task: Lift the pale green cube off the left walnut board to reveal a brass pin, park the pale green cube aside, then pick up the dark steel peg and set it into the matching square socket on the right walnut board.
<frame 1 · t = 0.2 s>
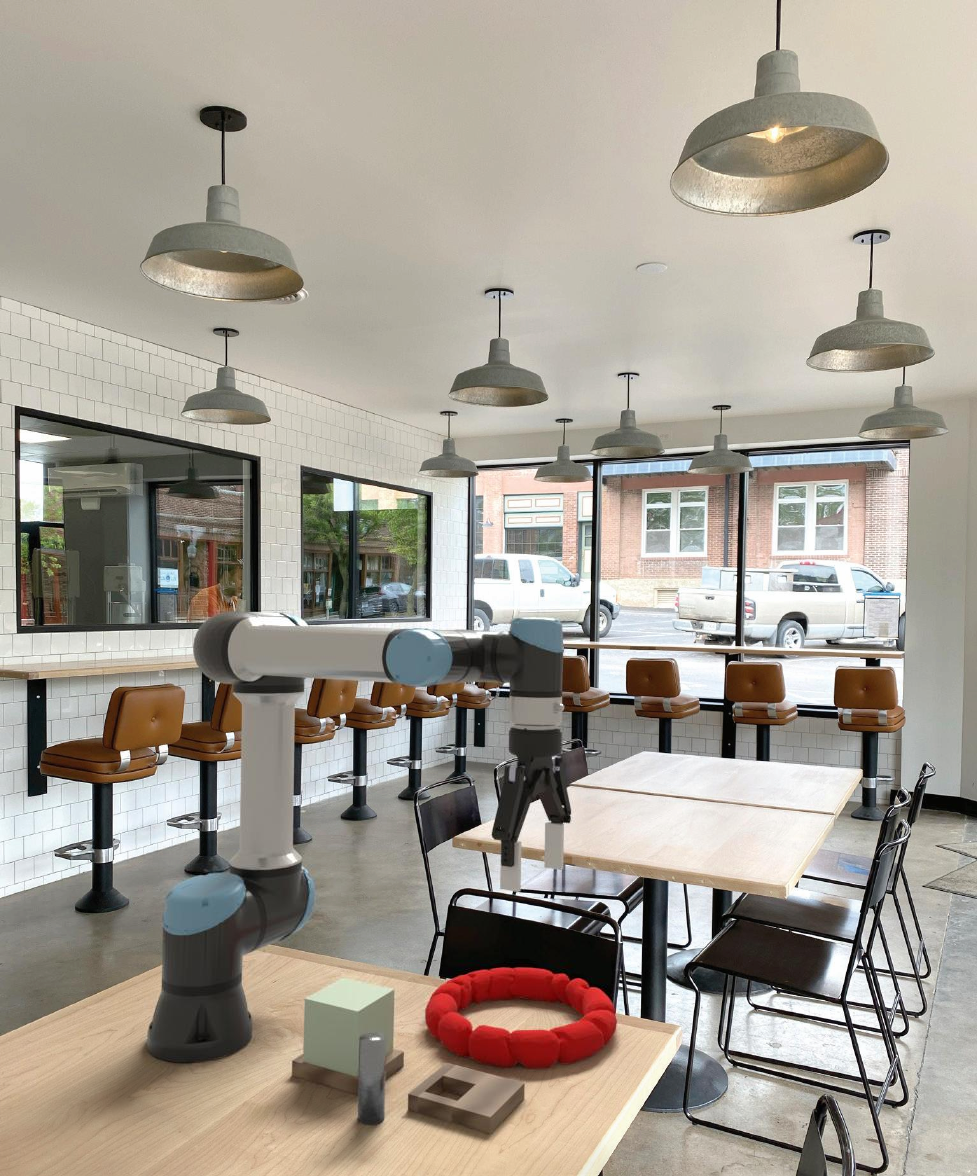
hand: (533, 878, 130), 28 cm above the table, fingers open, 13 cm apart
peg: (371, 1117, 118), on the table
pale green cube: (348, 1056, 130), point 2 cm above the table, touching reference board
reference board: (348, 1070, 130), on the table
square hole block: (466, 1103, 122), on the table
decorative ring: (520, 1030, 146), on the table
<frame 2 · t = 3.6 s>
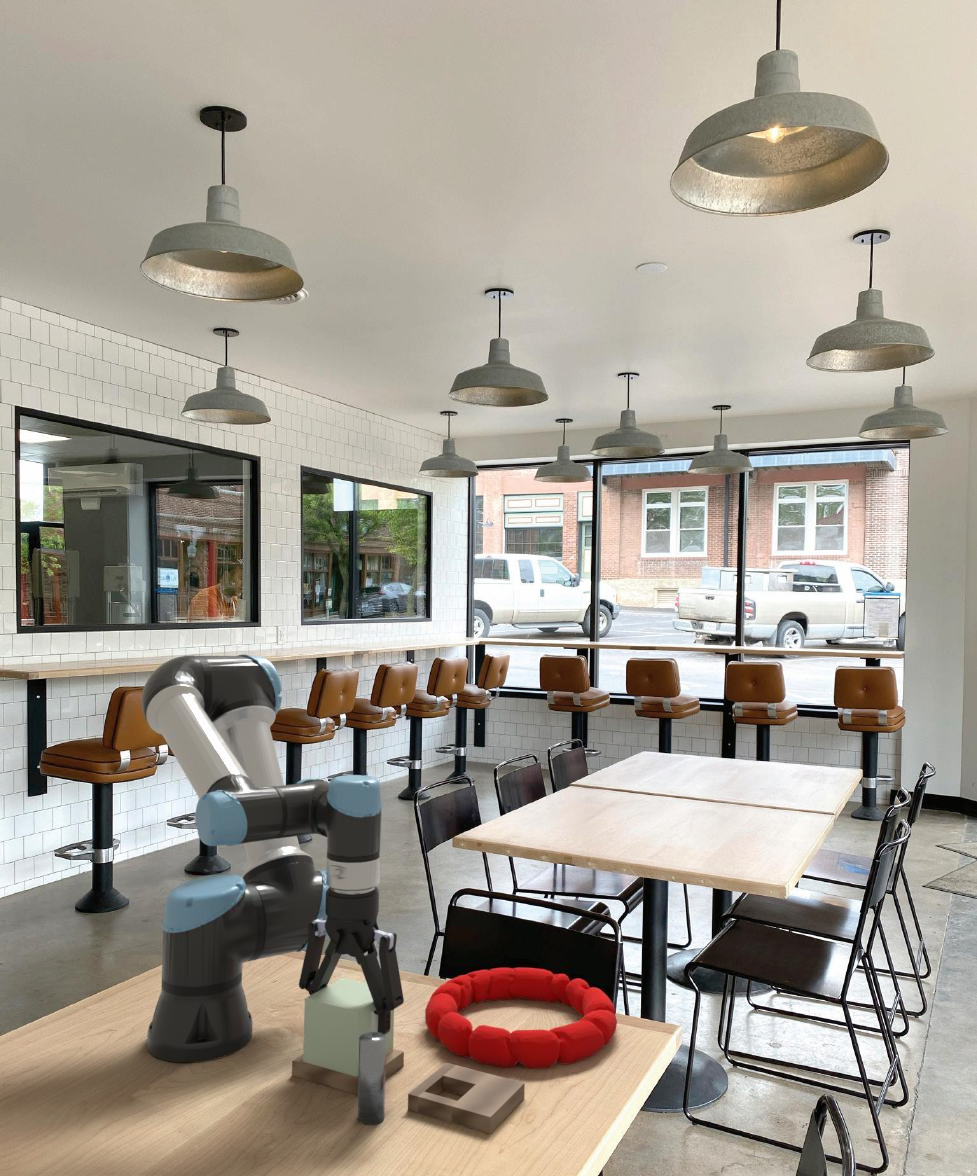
hand: (348, 1048, 130), 3 cm above the table, fingers closed on pale green cube, 9 cm apart
pale green cube: (348, 1055, 130), point 2 cm above the table, touching gripper, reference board
everything else where it was.
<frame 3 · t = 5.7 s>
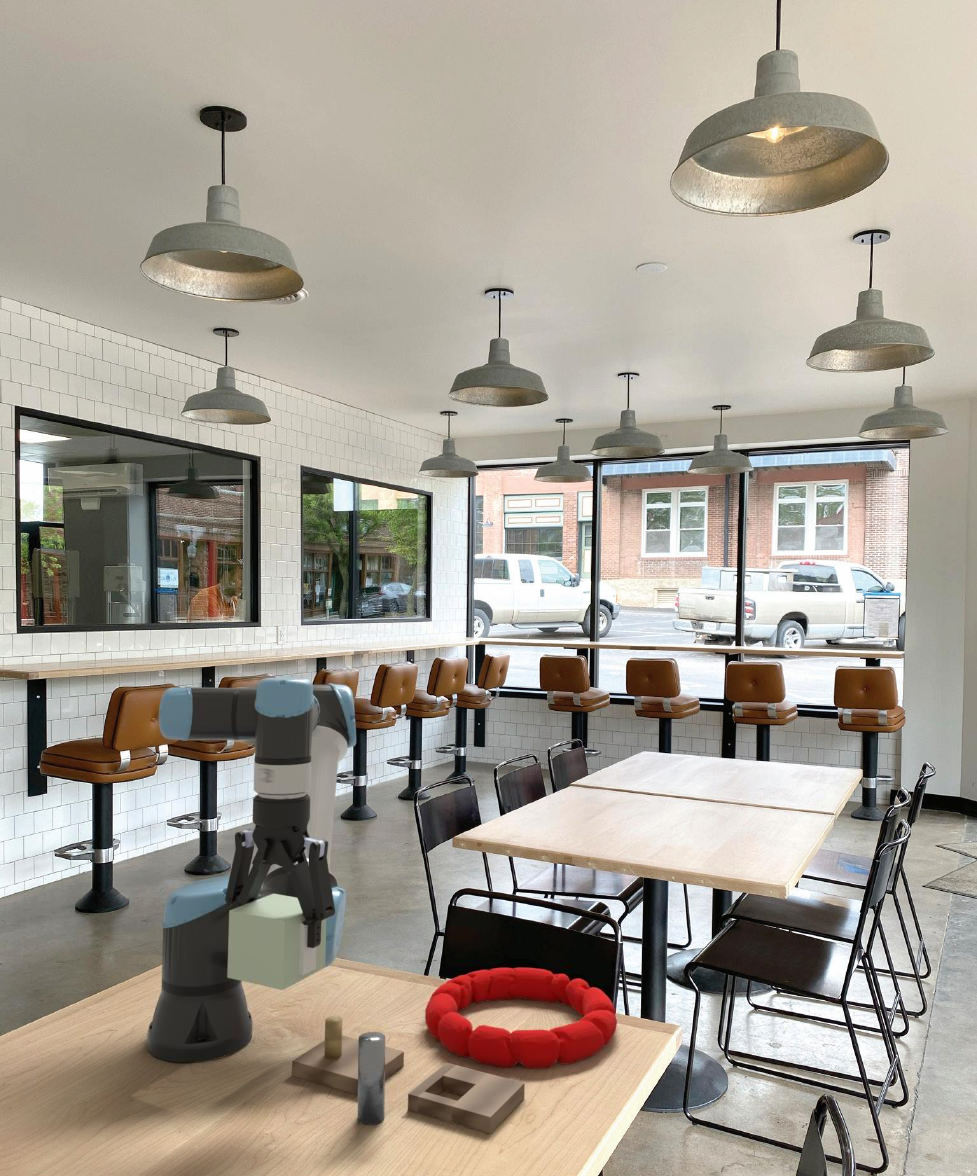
hand: (277, 964, 123), 17 cm above the table, fingers closed on pale green cube, 9 cm apart
pale green cube: (277, 972, 123), point 16 cm above the table, touching gripper
everything else where it was.
when the fingers open (2 cm above the table, at t = 8.0 s): pale green cube stays where it is, on the table.
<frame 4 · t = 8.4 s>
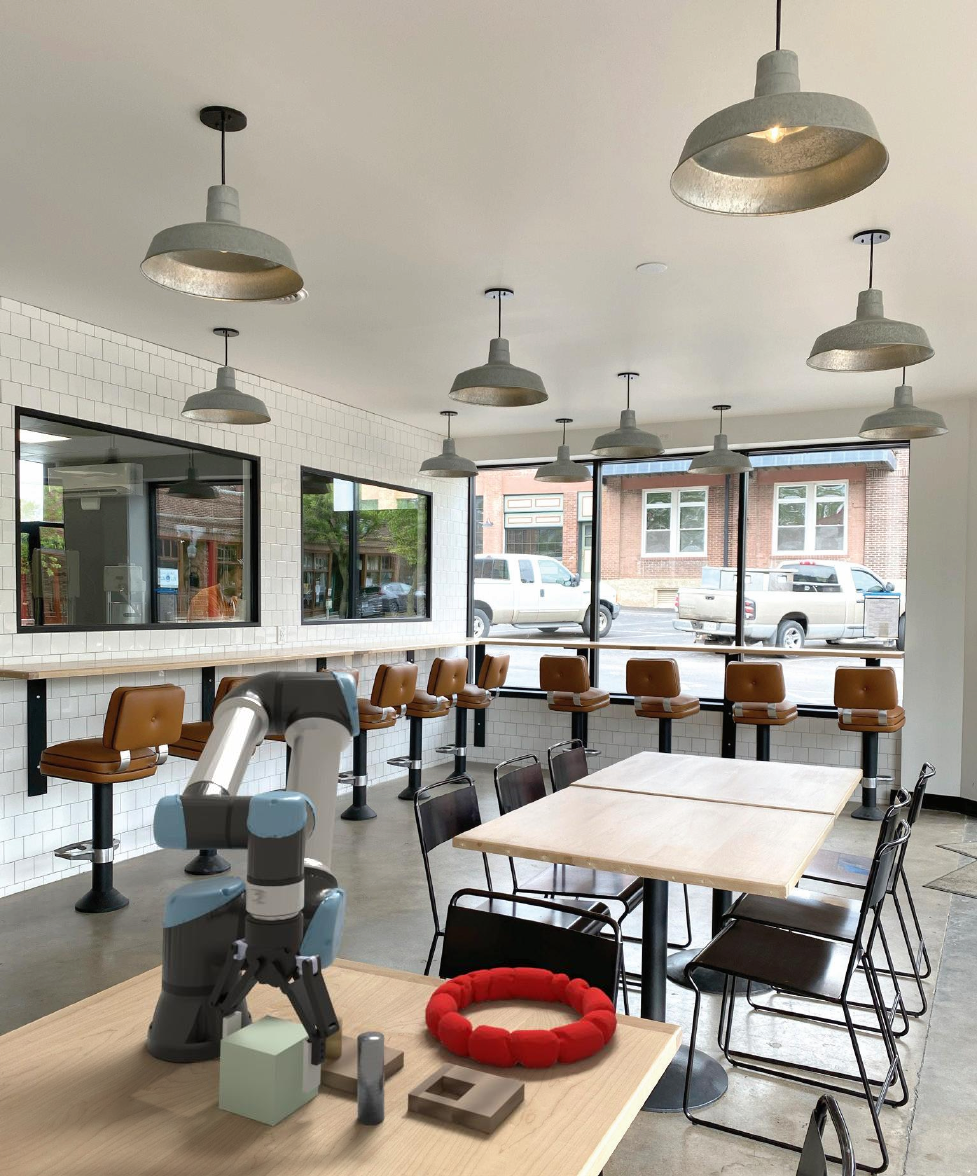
hand: (270, 1076, 122), 3 cm above the table, fingers open, 13 cm apart
pale green cube: (269, 1101, 121), on the table
everything else where it was.
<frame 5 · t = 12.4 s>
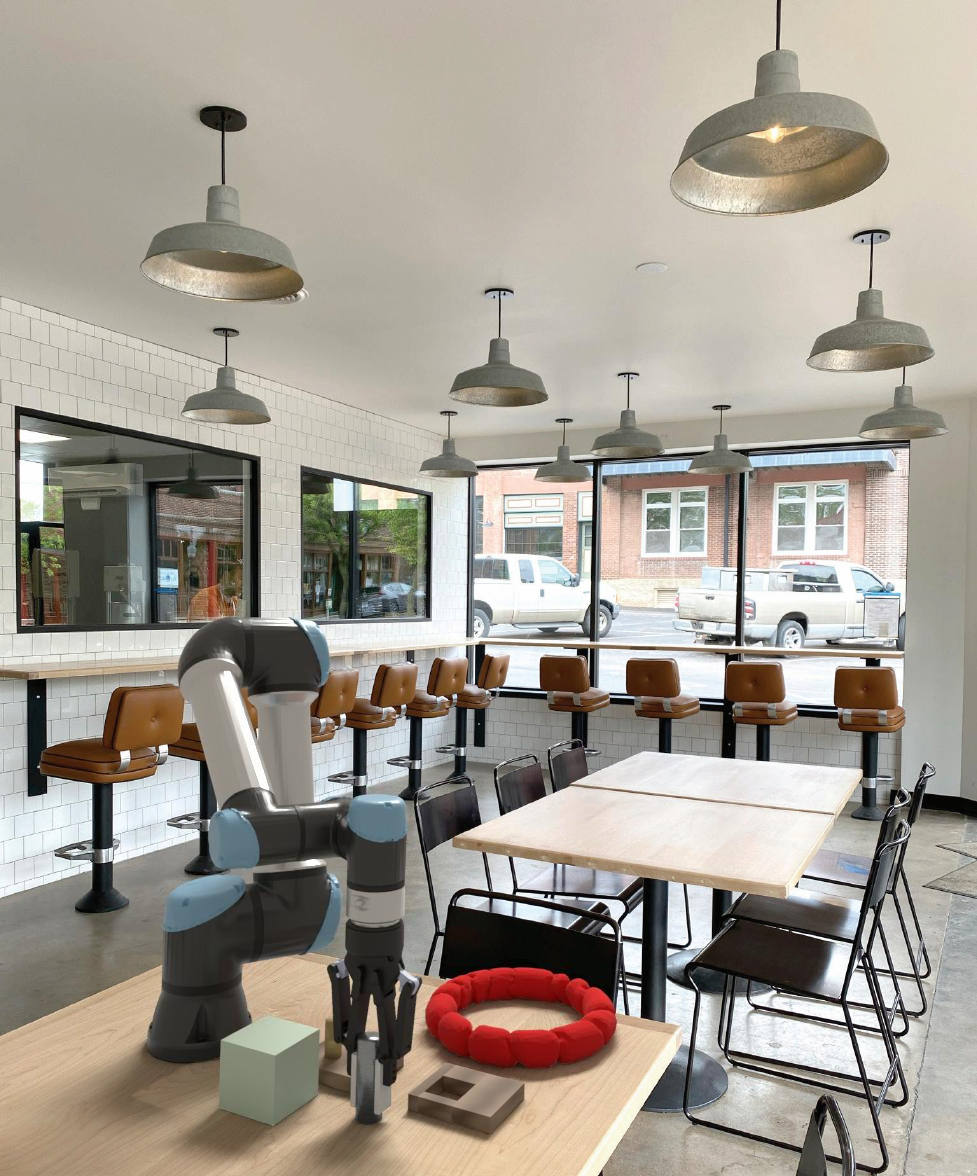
hand: (370, 1105, 118), 2 cm above the table, fingers closed on peg, 3 cm apart
peg: (368, 1117, 118), on the table, touching gripper
everything else where it was.
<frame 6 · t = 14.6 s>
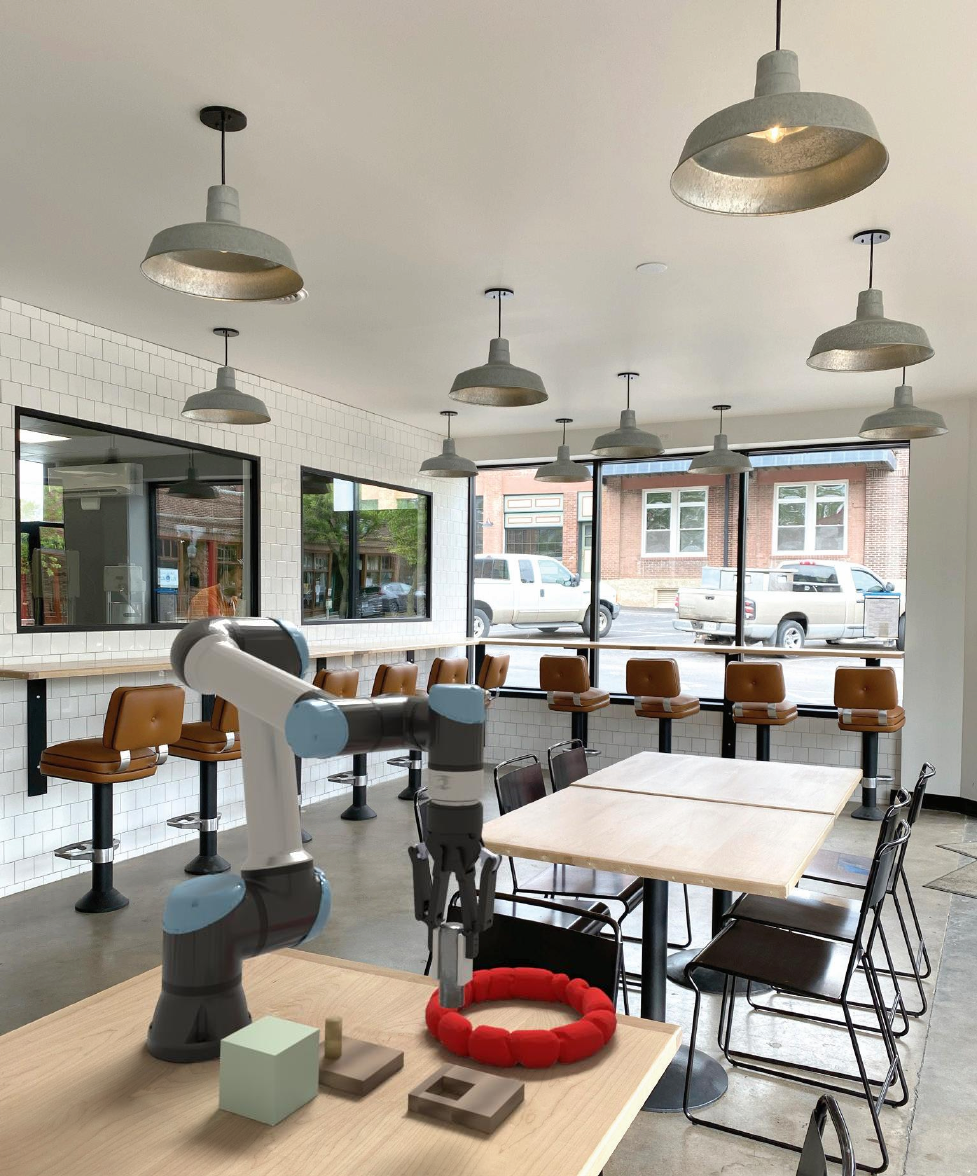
hand: (452, 979, 122), 16 cm above the table, fingers closed on peg, 3 cm apart
peg: (451, 1003, 122), point 13 cm above the table, touching gripper
everything else where it was.
when the fingers open (3 cm above the table, at t = 17.1 s): peg stays where it is, resting in square hole block.
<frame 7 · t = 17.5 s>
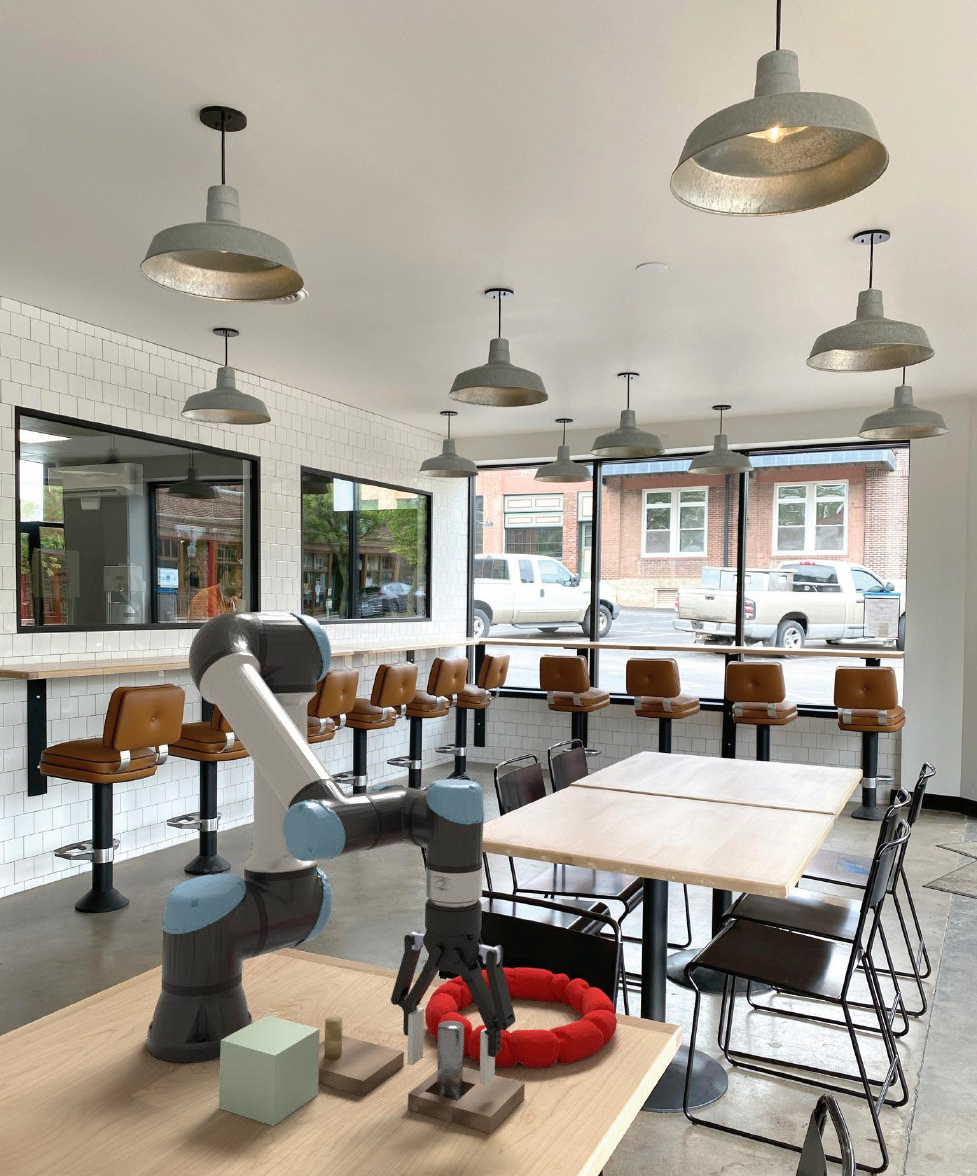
hand: (450, 1070, 122), 4 cm above the table, fingers open, 10 cm apart
peg: (449, 1103, 122), resting in square hole block
everything else where it was.
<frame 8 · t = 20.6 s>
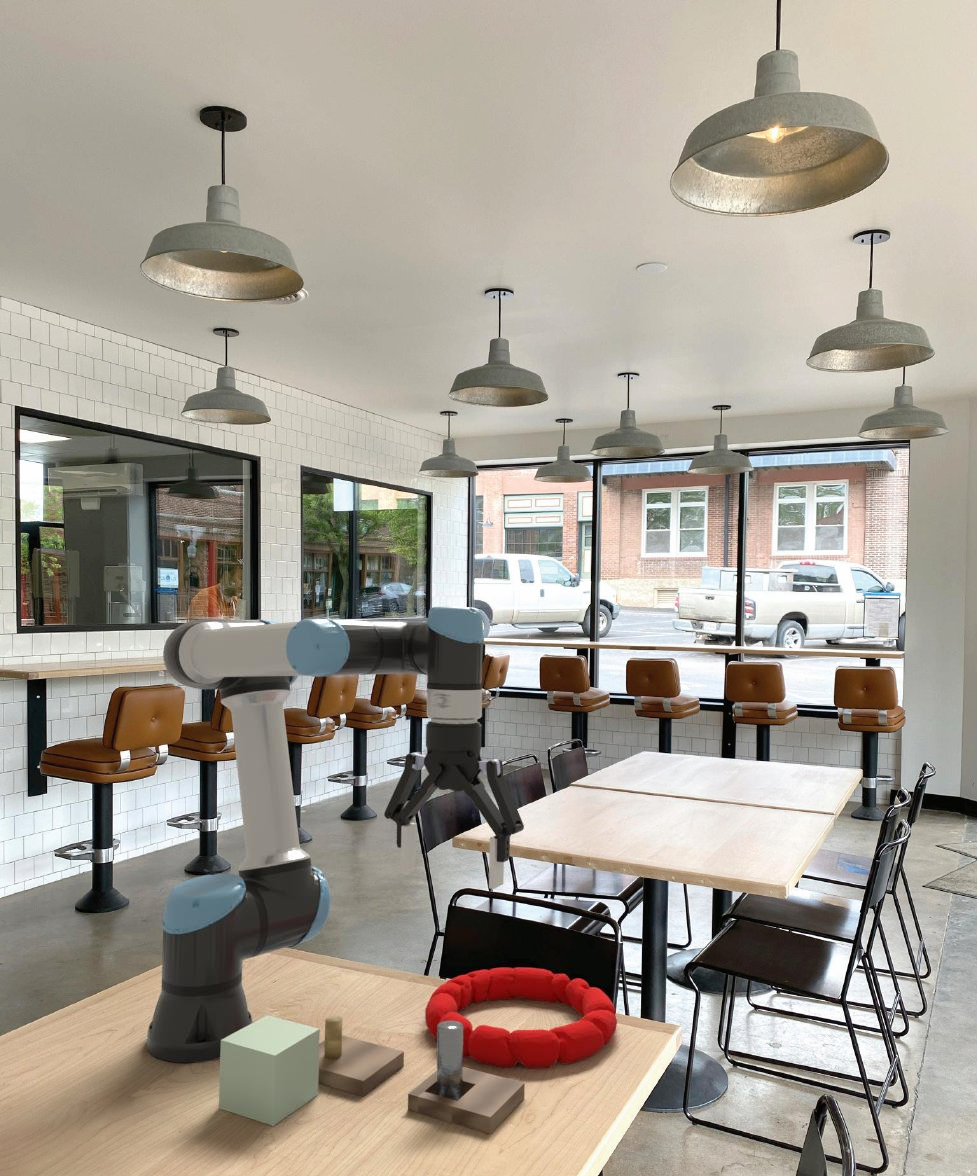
hand: (451, 879, 124), 29 cm above the table, fingers open, 13 cm apart
nothing on the table moved.
at the end: peg 0.1 cm from the target spot on the square hole block, point 0.0 cm above the square hole block's base; peg tilted 1°; pale green cube moved 12.9 cm from its start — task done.
